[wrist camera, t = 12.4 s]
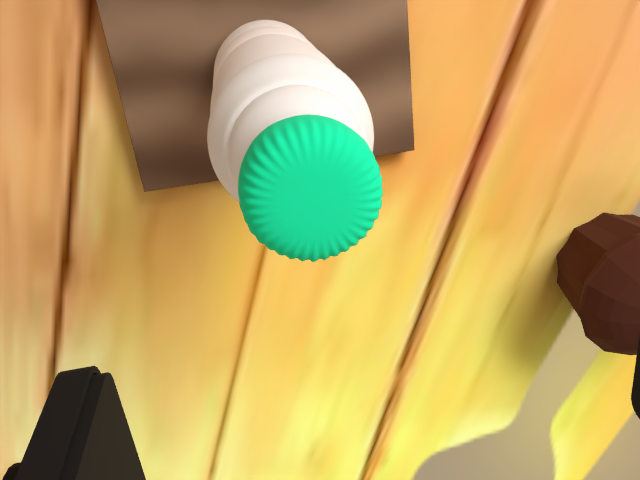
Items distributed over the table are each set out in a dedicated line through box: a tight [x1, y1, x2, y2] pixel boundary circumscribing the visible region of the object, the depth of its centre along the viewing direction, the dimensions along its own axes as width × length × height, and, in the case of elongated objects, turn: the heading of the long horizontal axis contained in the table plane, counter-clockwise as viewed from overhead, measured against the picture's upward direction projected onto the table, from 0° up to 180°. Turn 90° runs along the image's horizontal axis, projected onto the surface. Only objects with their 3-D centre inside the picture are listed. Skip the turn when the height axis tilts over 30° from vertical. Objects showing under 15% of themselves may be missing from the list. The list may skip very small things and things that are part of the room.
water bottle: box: [207, 20, 383, 262], centre depth 30 cm, size 7×7×25 cm
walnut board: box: [96, 0, 414, 192], centre depth 42 cm, size 14×20×2 cm
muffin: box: [557, 213, 640, 355], centre depth 49 cm, size 12×11×10 cm
